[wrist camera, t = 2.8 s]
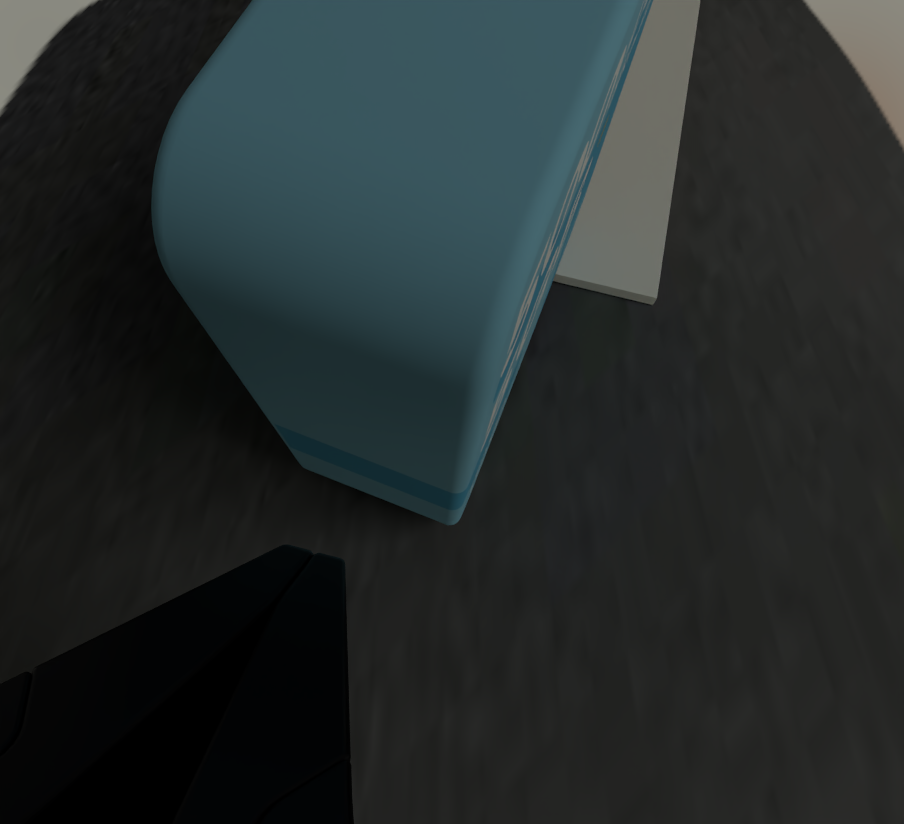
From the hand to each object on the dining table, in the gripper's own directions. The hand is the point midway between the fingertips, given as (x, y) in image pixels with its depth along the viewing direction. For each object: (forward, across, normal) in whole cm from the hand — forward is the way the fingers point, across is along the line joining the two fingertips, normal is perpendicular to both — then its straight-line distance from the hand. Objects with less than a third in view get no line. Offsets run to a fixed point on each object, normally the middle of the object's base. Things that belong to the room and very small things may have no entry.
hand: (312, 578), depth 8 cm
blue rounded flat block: (+12, 0, 0) cm, 12 cm away
